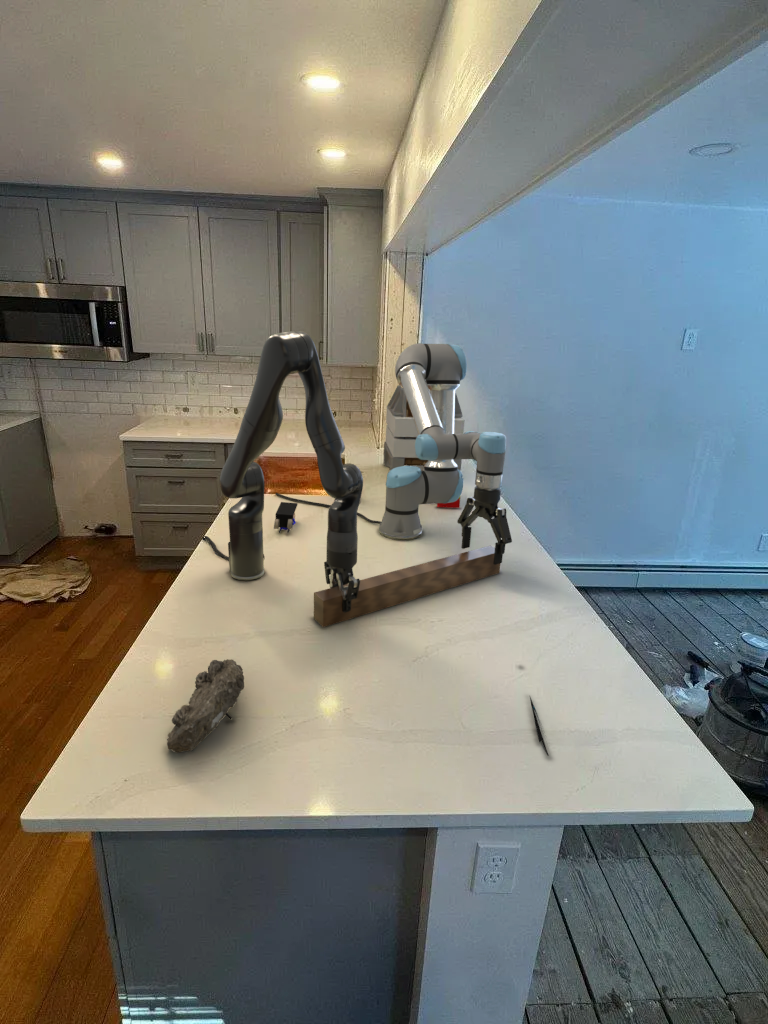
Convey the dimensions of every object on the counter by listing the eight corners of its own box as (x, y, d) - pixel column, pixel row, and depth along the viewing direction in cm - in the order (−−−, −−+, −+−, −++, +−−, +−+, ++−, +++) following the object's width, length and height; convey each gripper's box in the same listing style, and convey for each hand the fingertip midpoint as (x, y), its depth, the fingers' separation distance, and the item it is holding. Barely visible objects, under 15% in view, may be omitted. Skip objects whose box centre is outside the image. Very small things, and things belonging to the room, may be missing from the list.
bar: (487, 566, 177) (490, 545, 175) (499, 573, 173) (502, 551, 171) (313, 618, 144) (313, 592, 141) (323, 627, 140) (323, 600, 137)
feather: (521, 671, 128) (526, 665, 127) (548, 760, 101) (555, 753, 101) (514, 667, 128) (520, 661, 127) (540, 755, 101) (547, 748, 101)
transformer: (382, 463, 289) (386, 382, 275) (445, 464, 293) (451, 384, 279) (390, 482, 257) (394, 392, 243) (460, 483, 261) (468, 394, 247)
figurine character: (293, 539, 194) (298, 519, 208) (292, 519, 191) (298, 500, 204) (273, 538, 194) (280, 518, 207) (272, 519, 191) (279, 500, 204)
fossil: (192, 660, 117) (244, 628, 112) (224, 691, 120) (276, 661, 115) (142, 746, 98) (202, 712, 93) (182, 779, 101) (242, 748, 96)
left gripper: (314, 538, 142) (314, 598, 148) (343, 559, 131) (342, 623, 137) (340, 532, 146) (339, 591, 152) (370, 552, 135) (368, 615, 141)
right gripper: (449, 478, 170) (444, 543, 177) (511, 500, 151) (502, 573, 157) (467, 475, 174) (462, 539, 181) (530, 496, 155) (521, 567, 162)
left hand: (340, 606), depth 144 cm, fingers closed on bar, 5 cm apart
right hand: (481, 555), depth 169 cm, fingers open, 13 cm apart
